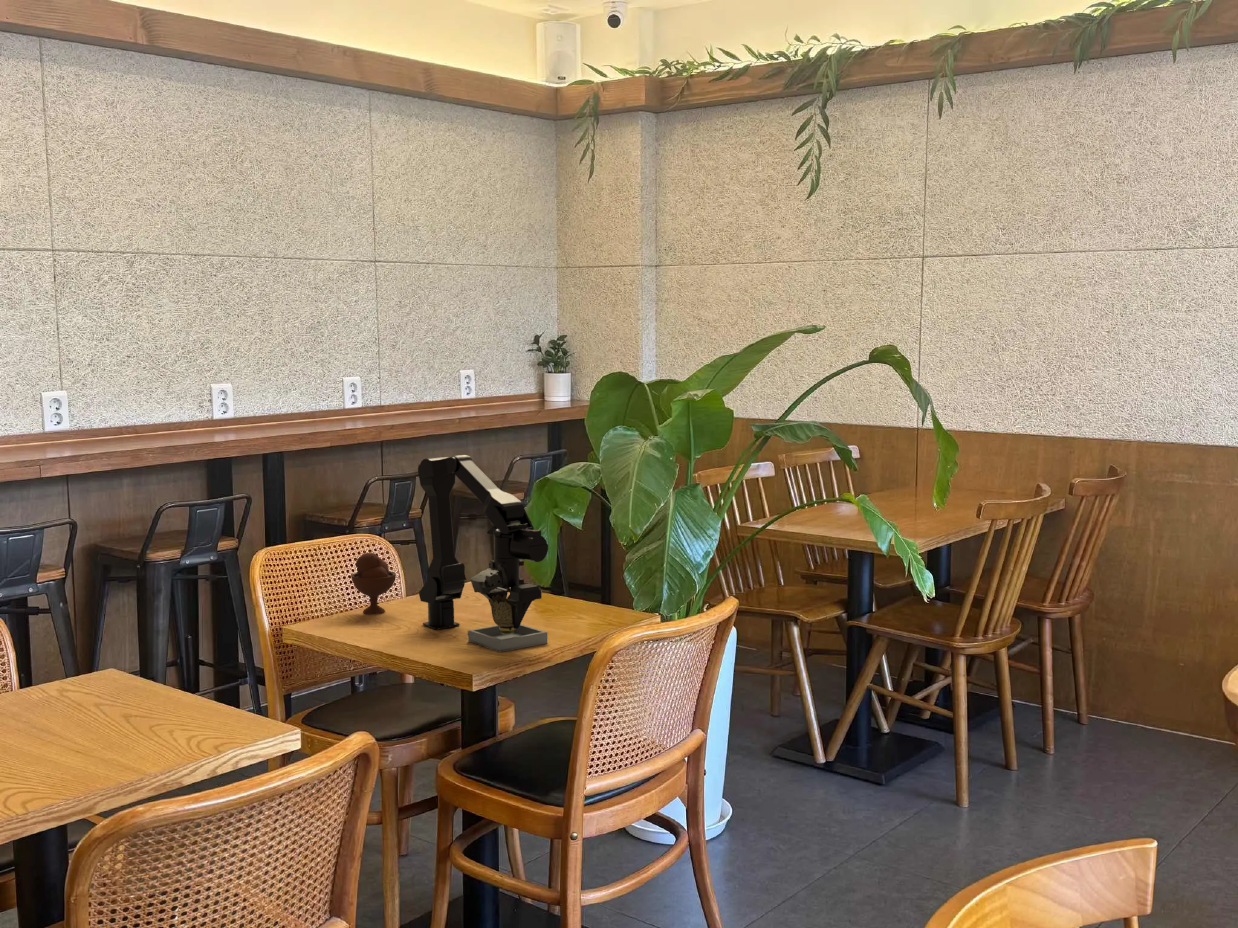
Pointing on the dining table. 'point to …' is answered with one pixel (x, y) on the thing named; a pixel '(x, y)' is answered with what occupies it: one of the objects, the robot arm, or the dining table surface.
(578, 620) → the dining table surface
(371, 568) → the ice cream bowl
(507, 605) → the cup
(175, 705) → the dining table surface
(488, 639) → the tray
